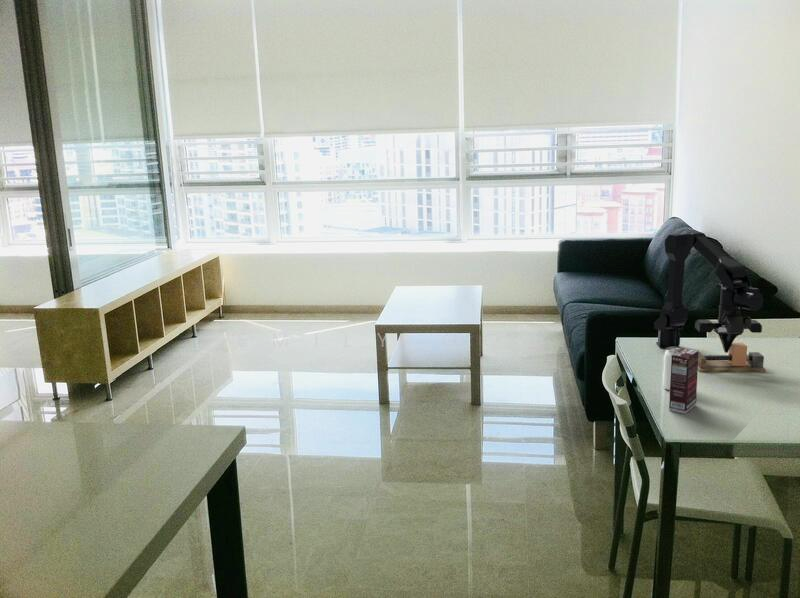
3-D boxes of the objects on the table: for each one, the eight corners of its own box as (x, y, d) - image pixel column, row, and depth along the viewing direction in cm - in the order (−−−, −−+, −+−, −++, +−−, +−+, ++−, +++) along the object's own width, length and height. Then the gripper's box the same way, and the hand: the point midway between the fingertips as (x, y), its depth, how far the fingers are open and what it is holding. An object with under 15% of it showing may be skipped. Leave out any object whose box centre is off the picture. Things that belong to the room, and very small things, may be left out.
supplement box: (678, 401, 211) (682, 347, 207) (696, 405, 208) (700, 350, 204) (667, 410, 204) (670, 354, 201) (685, 414, 201) (689, 357, 198)
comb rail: (699, 371, 235) (700, 358, 234) (690, 363, 244) (691, 350, 243) (765, 372, 233) (766, 358, 232) (754, 363, 242) (756, 350, 241)
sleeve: (732, 365, 236) (733, 346, 235) (728, 361, 240) (729, 342, 239) (745, 365, 236) (747, 346, 235) (741, 361, 240) (742, 342, 239)
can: (682, 384, 224) (685, 346, 222) (688, 392, 218) (691, 352, 215) (660, 384, 225) (662, 346, 222) (665, 392, 219) (667, 352, 216)
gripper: (706, 310, 227) (703, 359, 231) (770, 310, 225) (766, 360, 229) (696, 302, 238) (692, 349, 242) (757, 302, 236) (753, 349, 240)
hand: (726, 352), depth 238 cm, fingers closed
